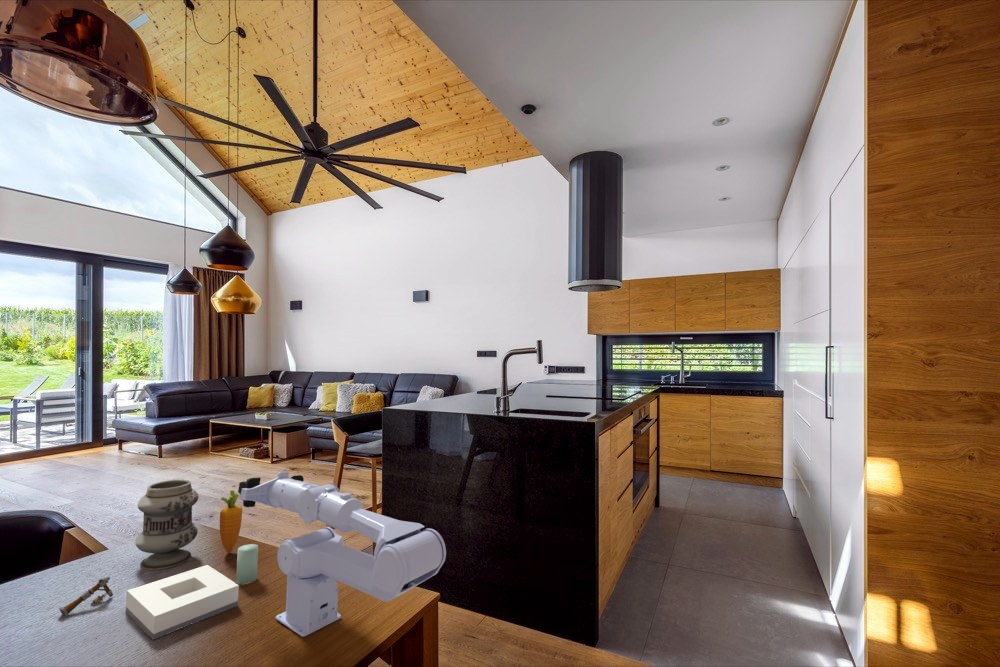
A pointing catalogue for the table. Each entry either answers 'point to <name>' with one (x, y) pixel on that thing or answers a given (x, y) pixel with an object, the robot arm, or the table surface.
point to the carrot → (230, 522)
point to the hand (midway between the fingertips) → (258, 486)
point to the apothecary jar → (167, 523)
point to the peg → (247, 563)
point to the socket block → (180, 600)
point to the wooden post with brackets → (87, 594)
